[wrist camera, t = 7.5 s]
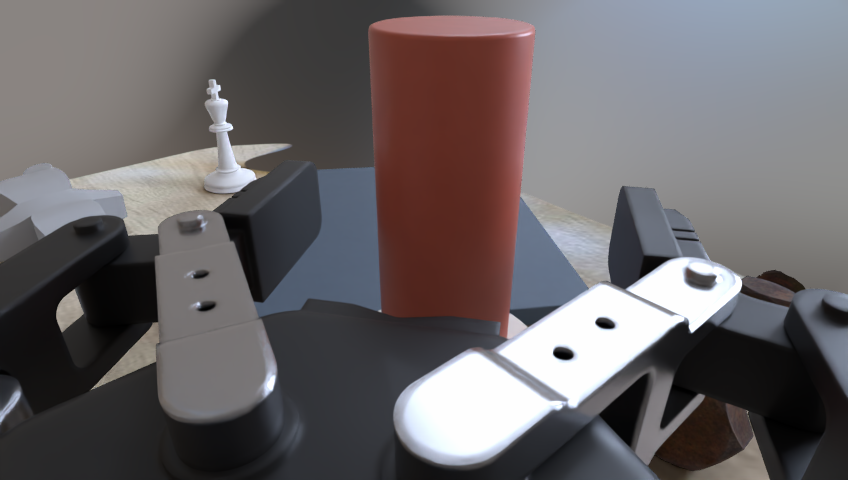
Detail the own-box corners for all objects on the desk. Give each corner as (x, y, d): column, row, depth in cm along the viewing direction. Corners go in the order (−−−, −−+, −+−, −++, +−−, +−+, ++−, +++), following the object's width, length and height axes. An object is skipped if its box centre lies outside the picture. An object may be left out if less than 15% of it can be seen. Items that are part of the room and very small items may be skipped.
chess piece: (264, 176, 55) (249, 75, 50) (243, 195, 50) (224, 86, 46) (219, 173, 55) (200, 73, 51) (194, 192, 51) (171, 85, 46)
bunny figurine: (2, 246, 33) (-82, 168, 41) (26, 310, 36) (-56, 225, 43) (148, 197, 40) (54, 137, 47) (160, 254, 43) (70, 189, 50)
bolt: (776, 349, 34) (665, 485, 25) (715, 286, 35) (590, 392, 26) (863, 300, 30) (770, 443, 20) (789, 232, 31) (672, 335, 22)
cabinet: (570, 459, 24) (599, 302, 20) (260, 497, 23) (225, 333, 19) (486, 276, 38) (494, 160, 34) (289, 291, 36) (272, 171, 32)
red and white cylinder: (494, 481, 21) (537, 9, 13) (537, 627, 16) (645, 41, 8) (360, 497, 20) (318, 12, 12) (366, 654, 16) (307, 49, 8)
